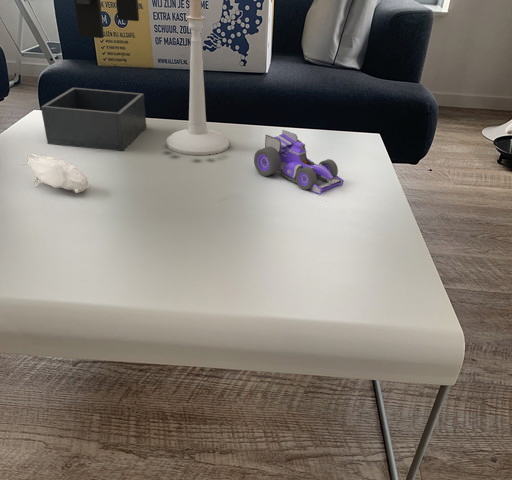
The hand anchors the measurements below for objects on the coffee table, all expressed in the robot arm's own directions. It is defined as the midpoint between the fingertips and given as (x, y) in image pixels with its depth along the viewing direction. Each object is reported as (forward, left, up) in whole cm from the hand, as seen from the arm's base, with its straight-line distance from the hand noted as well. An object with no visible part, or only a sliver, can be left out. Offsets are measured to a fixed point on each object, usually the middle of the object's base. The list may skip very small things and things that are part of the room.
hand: (111, 28), depth 68 cm
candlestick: (+3, +36, -26) cm, 45 cm away
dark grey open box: (-18, +36, -26) cm, 48 cm away
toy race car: (+25, +23, -26) cm, 43 cm away
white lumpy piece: (-14, +8, -26) cm, 31 cm away
